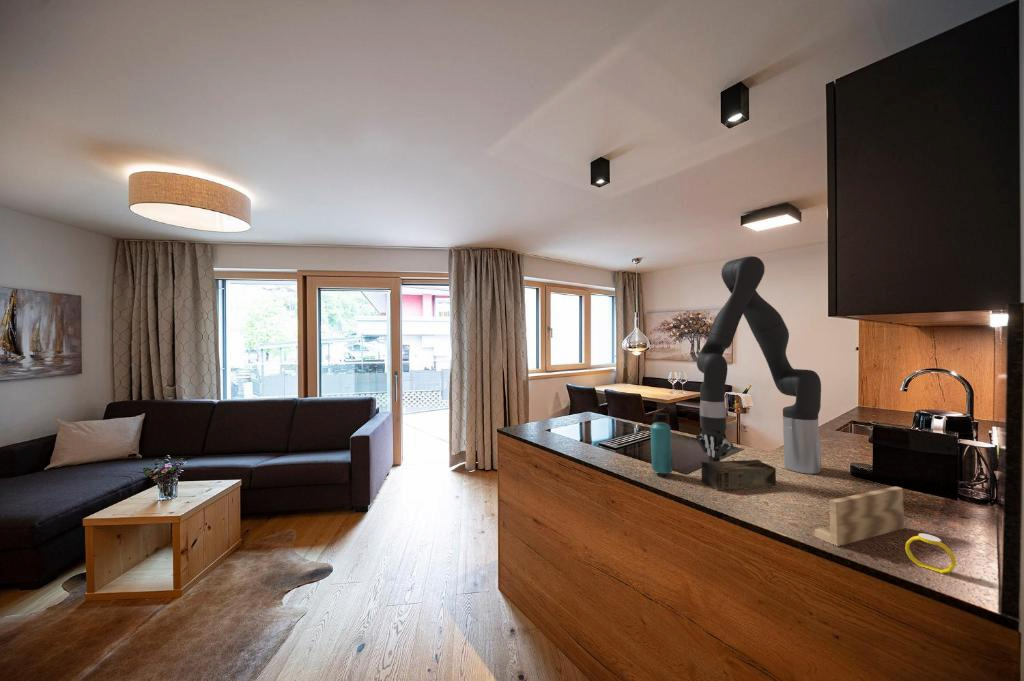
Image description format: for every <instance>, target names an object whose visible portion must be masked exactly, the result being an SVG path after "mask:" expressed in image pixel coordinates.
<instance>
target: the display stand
mask: <svg viewBox="0 0 1024 681" xmlns="http://www.w3.org/2000/svg"><path fill="white" fill-rule="evenodd" d="M903 491H904V488H903V487H900V486H891V487H886V488H881V489H877V490H872V491H867V492H863V493H859V494H858V493H857V494H853V495H848V496H844V497H839V498H834V499H829V500H828V501H829V502H828V507H829V508H828V509H829V525H828V526H827V525H826V526H823V527H820V528H815V529H814V537H816V538H818V539H820V540H822V541H825V542H827V543H828V542H829V544H831V545H833V544H834V545H833V546H835V545H836V546H835V547H840V545H841V546H845V545H848V544H852V543H856V542H860V541H863V540H867V539H870V538H874V537H877V536H882V535H886V534H889V533H892V532H895V531H901V530H904V529H905V518H904V517H905V515H904V514H905V513H904V492H903Z"/></svg>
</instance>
